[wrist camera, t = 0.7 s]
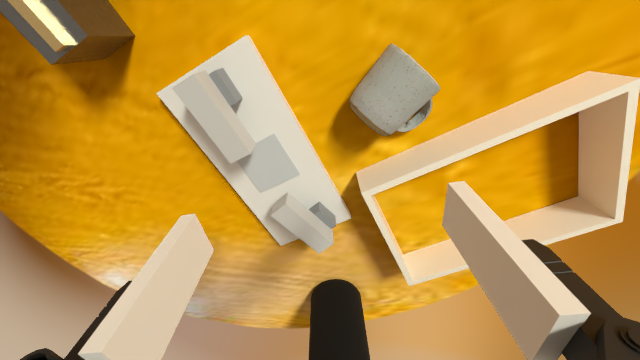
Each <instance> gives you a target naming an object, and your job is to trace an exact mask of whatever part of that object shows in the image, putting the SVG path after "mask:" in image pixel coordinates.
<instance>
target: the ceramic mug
mask: <svg viewBox="0 0 640 360" xmlns="http://www.w3.org/2000/svg"><path fill="white" fill-rule="evenodd" d="M439 90H440V86H439V85H438V83H437V82H436V81H435V80H434V79H433V77H432V76H431V75H430V74H428V72H427V71H425V69H424V68H422V67H421V66H420V65H419V64H418V63H417V62H416V61H415V60H414V59H413V58H412V57H411V56H410V55H408V54H407V53H405V52H404V51H403V50H402V49H400V48H399V47H397V46H396V45H394V44H390V45H389V46H388V47H387V48H386V50H385V51H384V52H383V54H382V55H381V56H380V58H379V59H378V60H377V61H376V63H375V64H374V65H373V67H372V68H371V69H370V70H369V72H368V73H367V75H366V76H365V77H364V78H363V80H362V81H361V82H360V83H359V85H358V86H357V87H356V89H355V90H354V92H353V94H352V95H351V97H350V100H349V104H350V107H351V109H352V110H353V111H354V113H355V114H356V115H357V116H358V117H359V118H360V119H361V120H362V121H363V122H364V123H365V124H367V125H368V126H369V127H370V128H371V129H373V130H374V131H375V132H377V133H379V134H381V135H383V136H389V135H391V134H393V133H394V132H395V131H398V132H406V131H410V130H412V129H414V128H416V127H417V126H418V125H420V124H421V123H422V122H423V121H424V120H425V119H426V118H427V116H428V115H429V113H430V111H431V108H432V97H433V96H434V95H435V94H436V93H437V92H438V91H439ZM422 106H423V107H422ZM421 107H422V108H421ZM420 108H421V110H420V111H419V112H418V113H417V114H416V115H415V116H414V117H413V118H412V119H411V120H409V121H408V122H406V121H407V120H408V119H409V118H410V117H411V116H413V115H414V114H415V113H416V112H417V111H418V110H419V109H420ZM405 122H406V123H405Z"/></svg>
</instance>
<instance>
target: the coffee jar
mask: <svg viewBox="0 0 640 360" xmlns="http://www.w3.org/2000/svg"><path fill="white" fill-rule="evenodd" d="M309 360H370V355H369V349H368V342H367V336H366V330H365V322H364V316H363V309H362V302H361V296H360V293H359V291H358V290H357V288H356V287H355V286H354V285H353V284H351V283H350V282H348V281H344V280H338V279H334V280H328V281H325V282H322V283H321V284H319V285H318V286H317V287H316V289H315V290H314V291H313V293H312V297H311V315H310V341H309Z"/></svg>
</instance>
